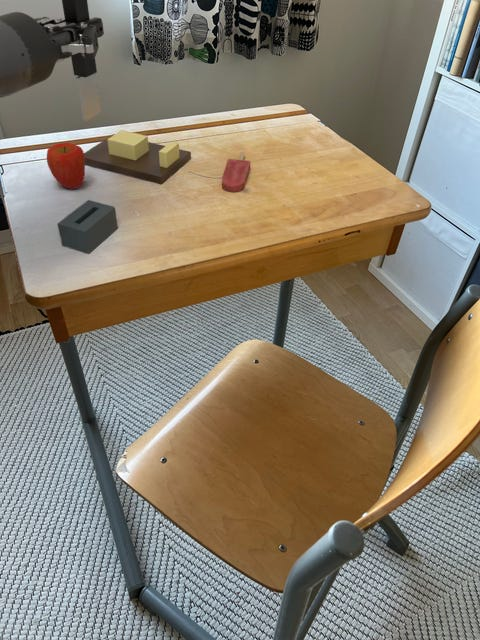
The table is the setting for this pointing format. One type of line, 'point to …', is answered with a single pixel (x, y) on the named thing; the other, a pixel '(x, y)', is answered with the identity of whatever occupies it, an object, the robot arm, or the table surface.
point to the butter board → (135, 162)
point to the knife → (83, 63)
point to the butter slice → (169, 154)
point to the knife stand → (88, 226)
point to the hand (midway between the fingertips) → (91, 24)
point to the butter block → (128, 145)
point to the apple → (67, 164)
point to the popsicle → (235, 174)
